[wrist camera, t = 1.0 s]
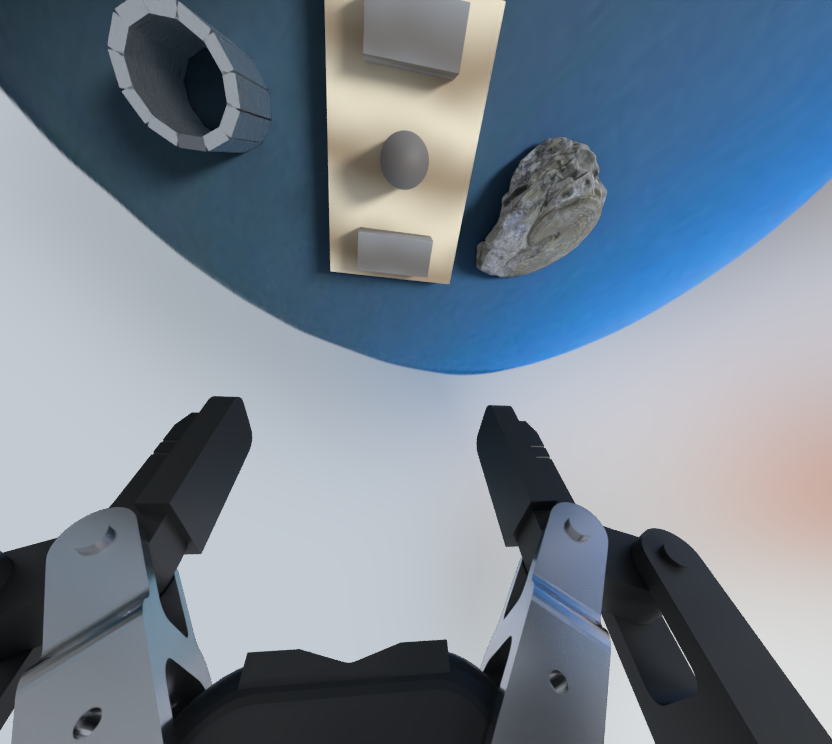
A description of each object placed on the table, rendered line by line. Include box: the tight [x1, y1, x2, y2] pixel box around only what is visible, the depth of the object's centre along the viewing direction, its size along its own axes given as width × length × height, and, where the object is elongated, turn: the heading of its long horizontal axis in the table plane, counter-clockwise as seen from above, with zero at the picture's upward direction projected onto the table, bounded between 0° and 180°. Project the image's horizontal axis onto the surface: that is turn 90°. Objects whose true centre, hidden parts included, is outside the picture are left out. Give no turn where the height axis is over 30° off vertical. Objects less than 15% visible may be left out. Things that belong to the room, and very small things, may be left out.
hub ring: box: [108, 0, 272, 153], centre depth 20 cm, size 6×6×6 cm
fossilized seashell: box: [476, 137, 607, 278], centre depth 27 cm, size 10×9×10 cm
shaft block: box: [325, 0, 506, 284], centre depth 22 cm, size 18×11×6 cm, turn 172°
